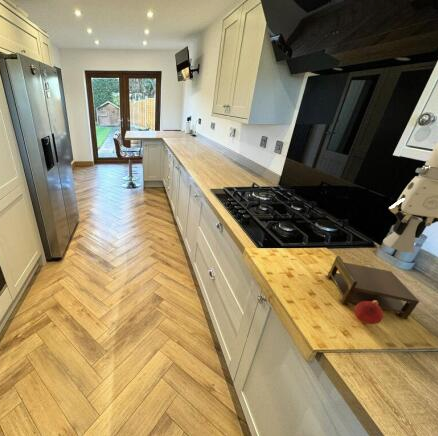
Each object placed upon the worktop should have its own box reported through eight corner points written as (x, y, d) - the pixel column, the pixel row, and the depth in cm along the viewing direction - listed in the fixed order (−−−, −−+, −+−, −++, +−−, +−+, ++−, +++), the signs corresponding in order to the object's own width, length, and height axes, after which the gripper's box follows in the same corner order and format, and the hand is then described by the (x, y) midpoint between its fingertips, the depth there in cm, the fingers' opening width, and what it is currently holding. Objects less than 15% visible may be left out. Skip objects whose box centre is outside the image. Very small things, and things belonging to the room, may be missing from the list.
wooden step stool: (381, 287, 80) (394, 266, 76) (406, 319, 68) (423, 295, 64) (327, 276, 85) (336, 255, 81) (342, 304, 73) (354, 281, 69)
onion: (371, 334, 63) (386, 313, 60) (346, 319, 67) (358, 298, 64) (379, 324, 66) (393, 303, 63) (354, 311, 70) (366, 290, 67)
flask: (407, 244, 74) (425, 215, 70) (419, 256, 68) (439, 225, 64) (378, 238, 77) (393, 210, 72) (387, 249, 71) (404, 219, 67)
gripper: (410, 174, 62) (377, 234, 70) (496, 182, 57) (450, 246, 65) (394, 167, 68) (366, 223, 76) (470, 175, 63) (431, 234, 71)
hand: (405, 233), depth 70 cm, fingers closed on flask, 3 cm apart
